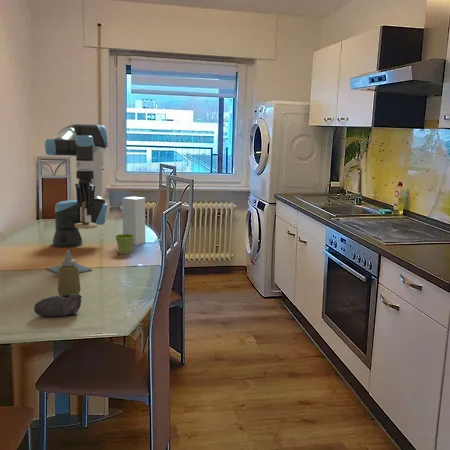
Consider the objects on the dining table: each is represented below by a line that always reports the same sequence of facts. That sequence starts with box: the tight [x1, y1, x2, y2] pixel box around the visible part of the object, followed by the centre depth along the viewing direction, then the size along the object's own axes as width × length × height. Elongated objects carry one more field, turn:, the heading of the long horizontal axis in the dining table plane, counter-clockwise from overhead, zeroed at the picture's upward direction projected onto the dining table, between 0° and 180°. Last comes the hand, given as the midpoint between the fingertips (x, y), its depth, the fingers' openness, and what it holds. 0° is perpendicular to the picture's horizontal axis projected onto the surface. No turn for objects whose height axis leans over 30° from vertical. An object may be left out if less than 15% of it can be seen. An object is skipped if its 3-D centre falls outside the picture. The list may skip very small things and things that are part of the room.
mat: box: [46, 262, 93, 276], centre depth 223 cm, size 14×14×1 cm
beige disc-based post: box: [74, 202, 98, 230], centre depth 233 cm, size 10×10×11 cm
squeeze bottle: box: [57, 249, 81, 296], centre depth 184 cm, size 8×8×18 cm
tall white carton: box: [122, 195, 146, 246], centre depth 278 cm, size 9×9×25 cm
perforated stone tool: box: [33, 293, 82, 318], centre depth 168 cm, size 15×5×7 cm, turn 107°
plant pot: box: [114, 233, 134, 255], centre depth 256 cm, size 9×9×9 cm
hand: (85, 221), depth 234 cm, fingers closed on beige disc-based post, 3 cm apart
